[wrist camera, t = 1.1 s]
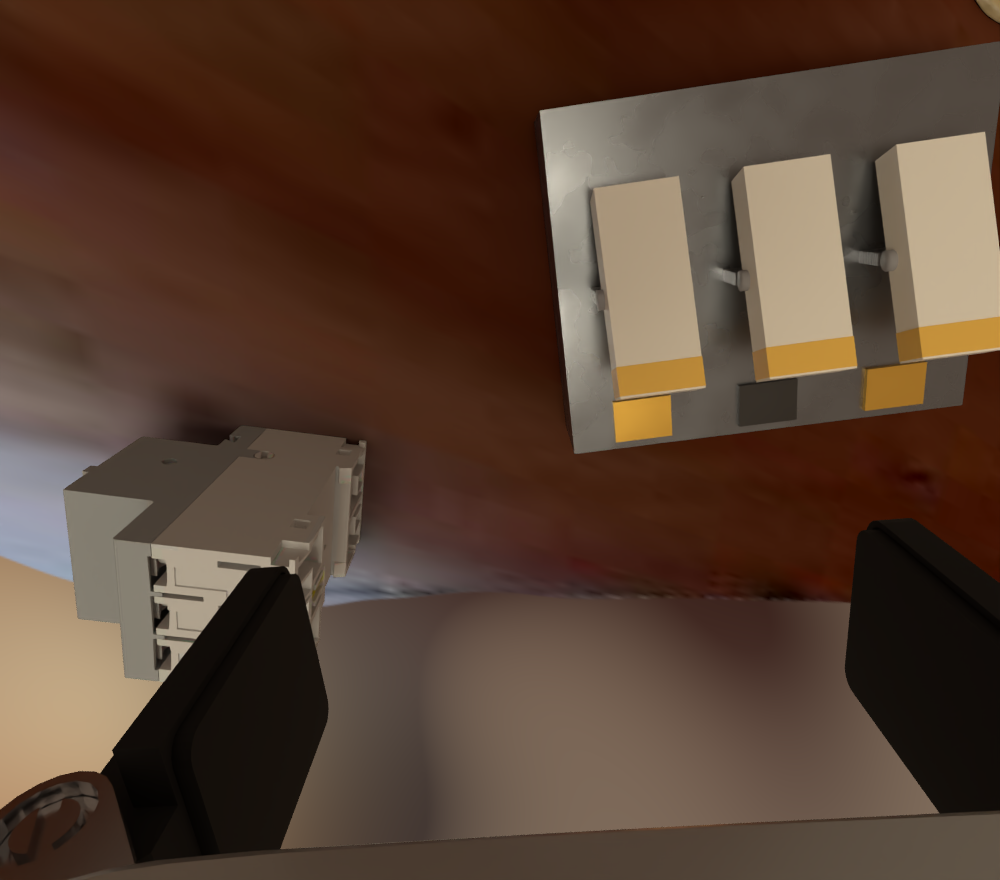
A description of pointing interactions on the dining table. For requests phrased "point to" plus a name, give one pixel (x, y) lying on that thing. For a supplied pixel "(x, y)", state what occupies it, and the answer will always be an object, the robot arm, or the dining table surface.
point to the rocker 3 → (941, 247)
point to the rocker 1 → (646, 288)
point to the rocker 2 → (793, 269)
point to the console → (714, 238)
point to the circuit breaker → (207, 531)
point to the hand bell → (991, 8)
